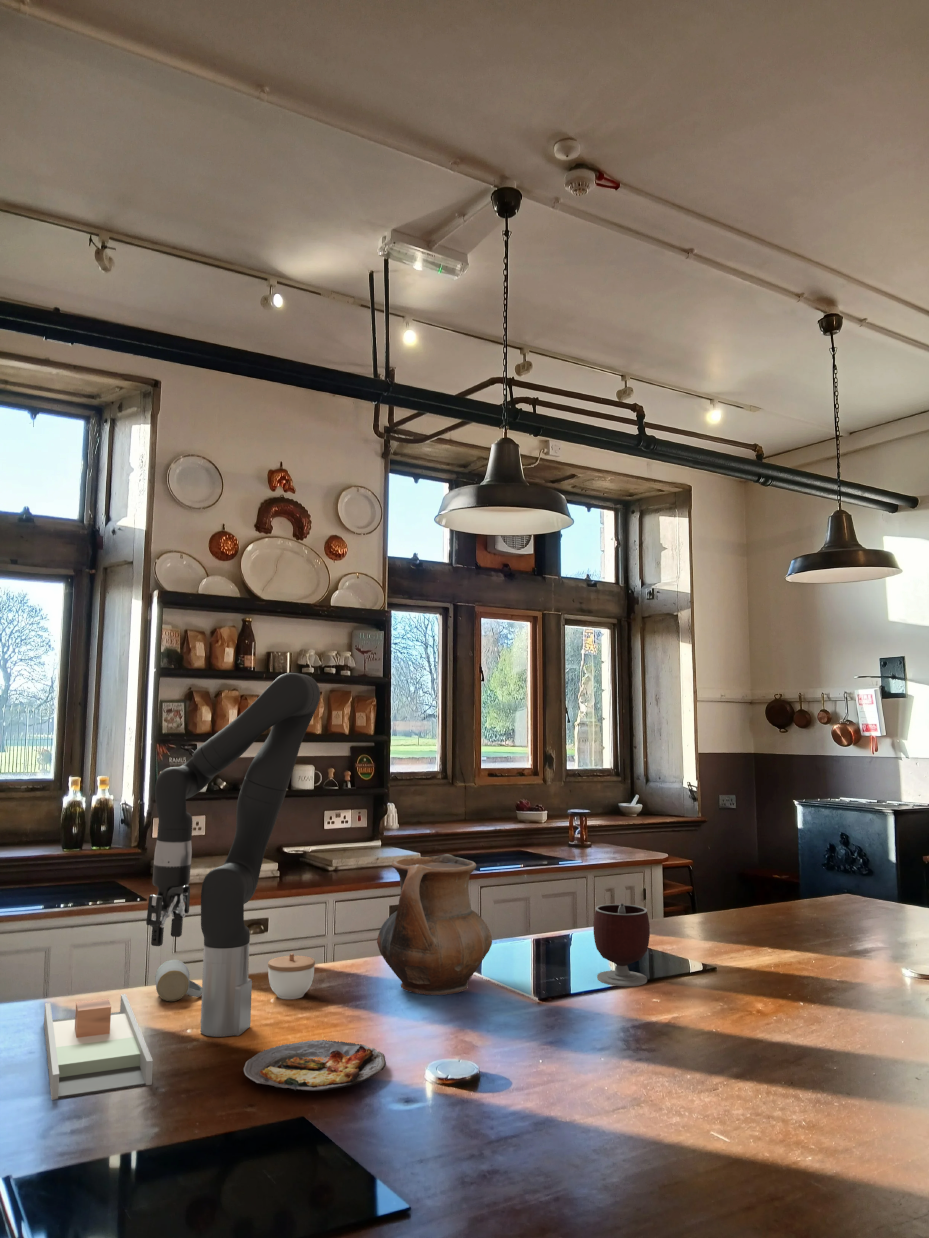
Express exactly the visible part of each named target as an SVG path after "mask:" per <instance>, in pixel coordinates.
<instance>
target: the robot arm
mask: <svg viewBox="0 0 929 1238" xmlns="http://www.w3.org/2000/svg"><path fill="white" fill-rule="evenodd" d="M320 697H321V690H320V687H319V684H318V683H317V681H316V680H315V679H314V678H313V677H311V676H309V675H308V674H303V673H298V672H286V673H283V674H281V675H279V676H278V677H276V678H275V680H273V682H271V683H270V684H269V685H268V686H267V687H266V688H265V690H264V691H263V692H262V693H261V694H260V695H259V696H258V697H257V698H256V699H255V701H253V702H252V704H250V705H249V707H247V708H246V709H245V710H243V712H241V713H240V714H239V715H238V716H237V717H236V718H234V720H232V721H231V722H230V723H229V724H227V725H226V726H224V727H223V728H222V729H220V730H219V731H218V732H216V733H215V734H214V735H213V736H211V737H210V738H209V739H208V740H206V741H205V742H203V743H202V744H201V745H199V747H197V749H195V751H194V752H193V754H192V757H191V758H189V760H187V761H186V762H185V763H183V764H182V765H180V766H173V767H167V768H165V769H163V770H162V771H161V772H159V774H158V776H157V778H156V781H155V786H154V798H155V807H156V812H157V816H158V822H157V823H158V824H157V834H156V844H155V847H154V848H155V849H154V857H153V871H152V885H153V886H154V887H157V888H158V890H157V893H156V894H150V895H149V897H148V904H147V905H148V906H147V913H146V921H145V922H146V926H150V927H151V938H150V939H151V940H150V945H151V946H153V947H161V946H162V945H163V943H164V942H163V941H164V932H165V931H164V928H165V927H164V926H165V924H166V921H167V919H168V918H170V916H172V918H171V924H170V925H171V927H170V937H172V938H180V937H182V935H183V924H184V923H183V922H184V918H185V917H186V914H189V913H190V902H191V900H190V899H191V897H190V896H191V886H190V885H189V884H190V883H191V869H192V868H191V867H192V854H193V850H192V849H193V848H192V836H193V824H194V823H193V821H194V820H193V816H192V815H191V813H189V812H187V799H190V798H192V797H193V796H195V795H196V794H198V793H200V792H201V791H202V790H203V789H204V788H205V787H206V786H207V785H208V784H209V783H210V782H211V781H212V780H213V779H214V777H215V776H216V775H218V774H220V773H221V772H223V771H224V770H225V769H226V768H228V767H229V766H231V764H233V763H234V762H236V761H237V760H238V759H239V758H241V757H242V756H243V755H244V754H245V753H246V751H248V749H249V748H250V747H251V746H252V745H253V744H254V742H255V741H256V740H258V738H259V737H260V736H261V735H263V733H265V732H266V731H268V730H269V729H270V728H271V730H270V732H269V734H268V735H267V738H265V741H264V742H263V744H262V746H261V747H260V748H259V750H258V751H257V752H256V754H255V756H254V758H253V759H252V761H251V762H250V764H249V767H248V768H247V771H246V773H245V775H244V779H243V781H242V784H241V788H240V790H239V794H238V796H237V797H238V798H237V802H236V816H235V817H236V818H235V820H236V821H235V822H236V823H235V825H236V826H235V833H234V834H235V835H234V837H233V838H234V839H233V842H232V845H231V846H230V850H229V852H228V855H227V857H226V859H225V861H224V863H223V865H220V866H217V867H215V868H213V869H212V870H210V871H209V872H208V873H207V874H206V876H205V877H204V879H203V881H202V885H201V892H200V928H201V932H202V935H203V957H202V958H203V960H202V983H201V984H202V985H201V987H202V995H201V1004H200V1005H201V1007H200V1011H201V1012H200V1033H201V1034H202V1035H204V1036H207V1037H212V1038H213V1037H217V1038H220V1037H221V1038H223V1037H231V1036H241V1035H242V1034H243V1033H244V1032H245V1031H246V1030H247V1029H249V1028H250V1027H251V1017H252V1016H251V1015H252V992H253V991H252V989H253V987H252V985H253V981H252V978H249V972H250V971H249V968H250V942H251V941H250V940H251V931H250V928H249V927H248V926H246V925H245V919H244V918H245V917H244V916H245V915H244V914H245V911H244V910H245V906H244V905H245V904H247V903H248V902H250V900H251V899H252V898H253V897H254V895H255V892H256V890H257V887H258V883H259V880H260V879H259V878H260V874H261V869H262V867H263V866H262V865H263V861H264V856H265V853H266V849H267V845H268V843H269V840H270V838H271V836H272V832H273V829H274V827H275V825H276V822H277V819H278V816H279V814H280V813H279V812H280V810H281V808H282V805H283V802H284V800H285V797H286V794H287V790H288V788H289V785H290V780H291V779H292V778H291V777H292V774H293V772H294V769H295V766H296V762H297V759H298V755H299V751H300V750H301V749H300V748H301V745H302V742H303V739H304V737H305V735H306V732H307V730H308V728H309V726H310V724H311V721H312V719H313V717H314V716H315V713H316V711H317V708H318V706H319V703H320V699H321V698H320Z"/></svg>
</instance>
